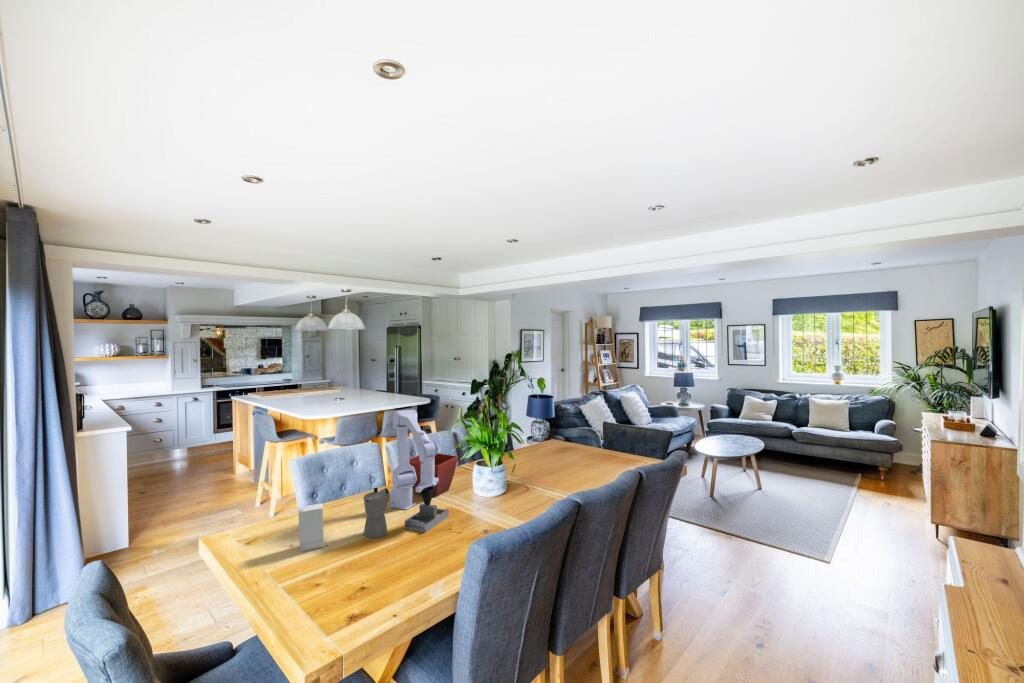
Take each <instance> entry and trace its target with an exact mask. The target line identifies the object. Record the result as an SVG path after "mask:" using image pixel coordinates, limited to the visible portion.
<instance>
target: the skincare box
mask: <svg viewBox="0 0 1024 683" xmlns="http://www.w3.org/2000/svg"><path fill="white" fill-rule="evenodd" d="M298 530H299V532H298V533H299V534H298V535H299V551H300V552H307V551H309V550H314V549H321V548H324V546H325V543H324V507H323V504H322V503H315V504H309V505H304V506H299V507H298Z"/></svg>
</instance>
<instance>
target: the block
mask: <svg viewBox="0 0 1024 683" xmlns="http://www.w3.org/2000/svg"><path fill="white" fill-rule="evenodd" d="M437 509H438V505H435V504H430V505H425V504H424V502H423V503H421V504H420V505H419V511H418V512H419V516H425V517H431V518H434V516H435V515H437Z"/></svg>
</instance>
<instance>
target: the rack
mask: <svg viewBox="0 0 1024 683" xmlns="http://www.w3.org/2000/svg"><path fill="white" fill-rule="evenodd" d="M449 511H450V510H449V509H448V508H446V509H441V508H437V515H435V516H434V518H431V517H425V516H419V511H418V512H416V513H415V514H414V515H413V514H412V515H411V517H408V518H407V519H405V520H404V529H405V530H410V531H414V532H418V533H424V534H425V533H428V532H429V531H430V530H431V529H433V528H435V527H436V526H437V525H439V524H440V523H442V522H443V521H444V520H446V519H447V518H449V516H450V515H449Z"/></svg>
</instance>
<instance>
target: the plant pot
mask: <svg viewBox="0 0 1024 683" xmlns="http://www.w3.org/2000/svg"><path fill="white" fill-rule="evenodd" d="M457 463H458V456H457V455H451V454H445V453H444V454H443V453H439V452H437V455H436V456H435V463H434V477H436V478H439V482H438V483H437V485H435V487H436V489H435V491H434V493H433V495H432V498H435V497H437V496H438V497H439V496H440V495H441V494H444V493H445V492H447V491H449V490H450V488H451V485H452V482H453V480H454V475H455V473H456V469H457V467H456V466H457ZM409 464H410V465H411V466H412V467H414V468H415V473H416V477H417V480H416V483H415V484H414V486H413V487H412V491H413V492H414V494H418V495H422V494H421V492H420V493H419V492H416V487H417V486H418V485H419V483H420V482H421V462H420V460H419V455H416V456H414V457H411V458H409Z"/></svg>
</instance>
